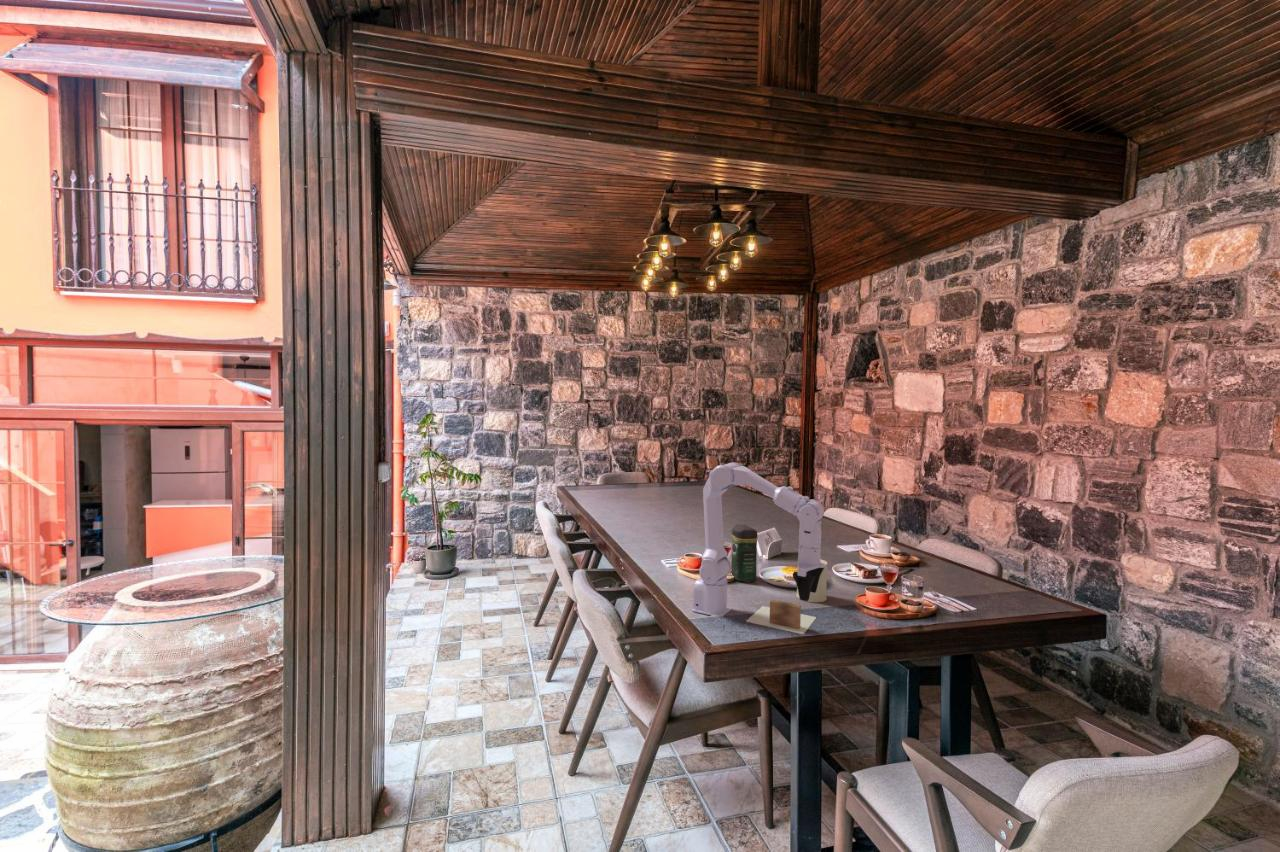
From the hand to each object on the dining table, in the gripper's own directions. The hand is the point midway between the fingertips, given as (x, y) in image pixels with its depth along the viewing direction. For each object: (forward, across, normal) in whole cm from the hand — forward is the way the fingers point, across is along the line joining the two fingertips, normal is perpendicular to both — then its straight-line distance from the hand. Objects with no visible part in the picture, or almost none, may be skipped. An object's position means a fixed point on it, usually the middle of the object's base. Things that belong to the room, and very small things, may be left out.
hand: (808, 595), depth 153 cm
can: (+10, +28, +6) cm, 30 cm away
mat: (+10, +4, +8) cm, 13 cm away
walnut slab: (+9, 0, +6) cm, 11 cm away
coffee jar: (+10, +34, +31) cm, 47 cm away
